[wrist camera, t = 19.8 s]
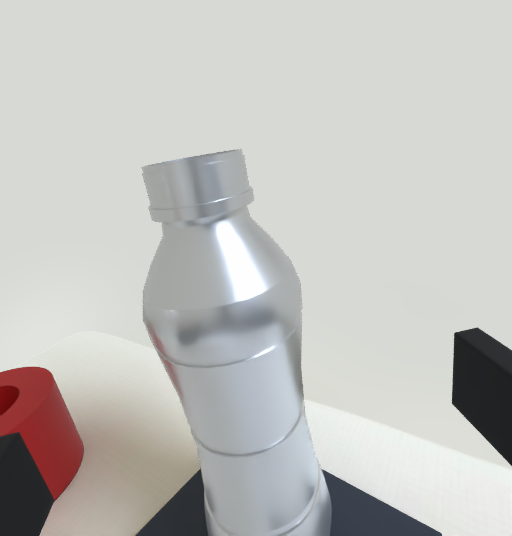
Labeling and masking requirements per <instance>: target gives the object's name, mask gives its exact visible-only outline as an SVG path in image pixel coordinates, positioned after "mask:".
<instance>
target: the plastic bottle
mask: <svg viewBox="0 0 512 536" xmlns="http://www.w3.org/2000/svg"><path fill="white" fill-rule="evenodd" d="M142 170H143V174H142V175H143V178H144V182H145V185H146V189H147V193H148V196H149V200H150V204H151V205H150V206H149V211H150V215H151V218H152V220H153V221H155V222H162V229H163V237H162V239H161V241H160V244H159V246H158V249H157V251H156V254H155V256H154V259H153V261H152V263H151V266H150V269H149V272H148V276H147V279H146V283H145V286H144V290H143V322H144V324H145V326H146V329H147V331H148V334H149V337H150V340H151V341H152V343H153V345H154V347H155V349H156V351H157V353H158V355H159V357H160V359H161V361H162V364H163V366H164V368H165V370H166V372H167V374H168V376H169V378H170V380H171V382H172V384H173V386H174V388H175V390H176V392H177V394H178V396H179V399H180V402H181V404H182V407H183V410H184V413H185V416H186V418H187V421H188V424H189V425H190V427H191V432H192V435H193V438H194V441H195V443H196V446H197V451H198V456H199V461H200V467H201V472H202V478H203V483H204V508H205V516H206V524H207V531H208V536H330V528H331V515H332V506H331V499H330V494H329V491H328V488H327V484H326V481H325V478H324V475H323V472H322V469H321V467H320V464H319V462H318V460H317V458H316V456H315V452H314V448H313V444H312V440H311V436H310V432H309V428H308V424H307V420H306V416H305V407H304V397H303V384H302V373H301V341H302V312H301V310H302V298H301V284H300V280H299V277H298V275H297V273H296V271H295V269H294V266H293V264H292V262H291V260H290V259H289V257H288V256H287V255H286V254H285V253H284V251H283V250H282V249H281V248H280V247H279V245H278V244H277V243H276V242H275V241H274V239H273V238H272V237H271V236H270V235H269V234H268V233H267V232H265V231H264V230H263V229H262V228H261V227H260V226H259V225H258V224H257V223H256V222H255V221H254V220H253V219H252V218H251V217H250V214H249V211H248V208H247V205H248V204H250V203H251V202H252V201H254V196H253V189H252V187H250V186H249V182H248V176H247V171H246V164H245V159H244V155H243V154H242V149H237V150H230V151H224V152H217V153H212V154H206V155H200V156H194V157H189V158H183V159H179V160H173V161H167V162H162V163H157V164H152V165H148V166H144V167H142Z"/></svg>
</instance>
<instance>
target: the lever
mask: <svg viewBox="0 0 512 536" xmlns="http://www.w3.org/2000/svg"><path fill="white" fill-rule="evenodd" d="M16 432H20V434H21V436H22V438H23V440H24V442H25V444H26V446H27V448H28V450H29V452H30V454H31V455H32V457H33V459H34V461H35V463H36V465H37V467H38V469H39V471H40V473H41V475H42V477H43V479H44V480H45V482H46V484H47V486H48V488H49V490H50V492H51V494H52V496H53V498H54V501H55V500H56V499H57V498H58V497H59V496H60V495H61V493H62V492H63V491H64V490H65V489H66V487H67V486H68V485H69V484H70V482H71V481H72V479H73V478H74V476H75V474H76V473H77V471H78V469H79V466H80V464H81V461H82V457H83V443H82V441H81V438H80V436H79V434H78V432H77V429H76V427H75V425H74V423H73V420H72V418H71V416H70V414H69V411H68V409H67V407H66V405H65V402H64V400H63V398H62V395H61V393H60V391H59V389H58V386H57V384H56V382H55V380H54V377H53V375H52V373H51V372H50V371H48V370H47V369H44V368H40V367H22V368H16V369H11V370H7V371H4V372H0V436H3V435H8V434H12V433H16Z"/></svg>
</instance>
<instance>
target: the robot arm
mask: <svg viewBox="0 0 512 536" xmlns="http://www.w3.org/2000/svg"><path fill="white" fill-rule="evenodd" d="M452 404H453V405H454V406H455V407H456V408H457V409H458V410H459V411H460V412H461V413H462V414H463V415H464V417H466V419H467V420H468V421H469V422H470V423H471V424H472V425H473V426H474V427H475V428H476V429H477V430H478V431H479V432H480V433H481V434H482V435H483V436H484V437H485V438H486V440H487V441H488V442H489V443H490V444H491V445H492V446H493V447H494V448H495V449H496V450H497V451H498V452H499V453H500V454H501V455H502V456H503V457H504V458H505V459H506V460H507V461H508V463H509V464H510V465H511V466H512V350H510V349H509V348H507V347H506V346H504V345H503V344H501V343H500V342H498V341H497V340H495V339H494V338H492V337H491V336H489V335H488V334H486V333H485V332H483V331H482V330H480V329H479V328H474V329H469V330H465V331H460V332H456V333H455V334H454V361H453V390H452ZM53 502H54V498H53V496H52V494H51V492H50V490H49V488H48V486H47V484H46V482H45V480H44V479H43V477H42V475H41V473H40V471H39V469H38V467H37V465H36V463H35V461H34V459H33V457H32V455H31V454H30V452H29V450H28V448H27V446H26V444H25V442H24V440H23V438H22V436H21V434H20V432H16V433H12V434H8V435H3V436H0V536H39V535H40V533H41V530H42V528H43V526H44V523H45V521H46V519H47V516H48V514H49V512H50V509H51V507H52V505H53Z"/></svg>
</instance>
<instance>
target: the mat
mask: <svg viewBox="0 0 512 536" xmlns="http://www.w3.org/2000/svg"><path fill="white" fill-rule="evenodd" d="M322 472H323V475H324V478H325V481H326V484H327V488H328V491H329V494H330V499H331V506H332V515H331V528H330V536H442V534H441V533H440V532H438V531H436V530H434V529H432V528H430V527H429V526H427V525H425V524H423V523H421V522H419V521H417V520H415V519H414V518H412V517H410V516H408V515H406V514H404V513H402V512H401V511H399V510H397V509H395V508H393V507H391V506H389V505H388V504H386V503H384V502H382V501H380V500H378V499H376V498H375V497H373V496H371V495H369V494H367V493H365V492H363V491H362V490H360V489H358V488H356V487H354V486H352V485H350V484H348V483H347V482H345V481H343V480H341V479H339V478H337V477H335V476H334V475H332V474H330V473H328V472H326V471H324V470H322ZM136 536H208V531H207V524H206V516H205V508H204V483H203V478H202V472H201V469H200V470H199V471H198V472H197V473H196V474H195V475H194V476H193V477H192V478H191V479H190V480H189V481H188V482H187V483H186V484H185V485H184V486H183V487H182V488H181V489H180V490H179V491H178V492H177V493H176V494H175V495H174V497H173V498H172V499H171V500H170V501H169V502H168V503H167V504H166V505H165V506H164V507H163V508H162V509H161V510H160V511H159V512H158V513H157V514H156V515H155V516H154V517H153V518H152V519H151V520H150V521H149V522H148V523H147V524H146V525H145V526H144V527H143V528H142V529H141V530H140V531H139V532H138V534H137V535H136Z"/></svg>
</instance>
